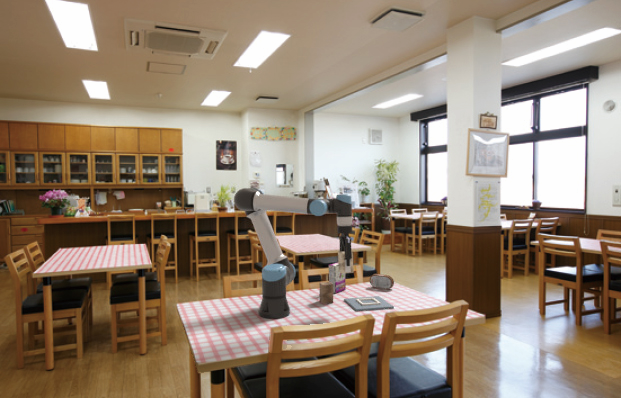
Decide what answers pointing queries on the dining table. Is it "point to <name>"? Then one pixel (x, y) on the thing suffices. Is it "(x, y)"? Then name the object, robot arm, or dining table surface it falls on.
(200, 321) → the dining table surface
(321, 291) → the walnut block
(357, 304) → the baseboard
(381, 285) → the tin
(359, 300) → the square frame
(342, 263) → the birch block
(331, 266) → the candy bar box
